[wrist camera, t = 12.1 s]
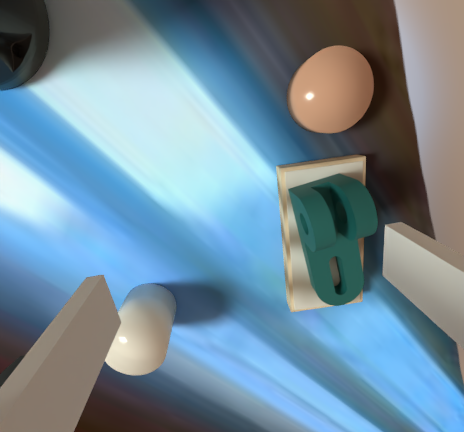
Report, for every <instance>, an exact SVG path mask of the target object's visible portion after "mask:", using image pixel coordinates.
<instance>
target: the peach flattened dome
mask: <svg viewBox="0 0 464 432" xmlns="http://www.w3.org/2000/svg"><path fill="white" fill-rule="evenodd" d="M373 90H374V79H373V73H372V70H371V67H370V65H369V63H368V62H367V60H366V59H365V58H364V56H363V55H362V54H360V53H359V52H358V51H356V50H355V49H352V48H350V47H346V46H332V47H328V48H325V49H323V50H321V51H319V52H317V53H316V54H315V55H313V56H312V57H311V58H309V59H308V60H307V61H305V62H304V63H303V64H302V65H301V66H300V67H299V68H298V69H297V70H296V71H295V73H294V74H293V76H292V78H291V80H290V82H289V85H288V90H287V106H288V110H289V113H290V115H291V117H292V119H293V120H294V121H295V122H296V123H297V124H298V125H299V126H300V127H301V128H303V129H305V130H307V131H310V132H314V133H337V132H341V131H344V130H346V129H348V128H350V127H351V126H353V125H354V124H355V123H357V122H358V121H359V120H360V119H361V118H362V116H363V115H364V114H365V112H366V110H367V109H368V107H369V105H370V102H371V99H372V96H373Z"/></svg>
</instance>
